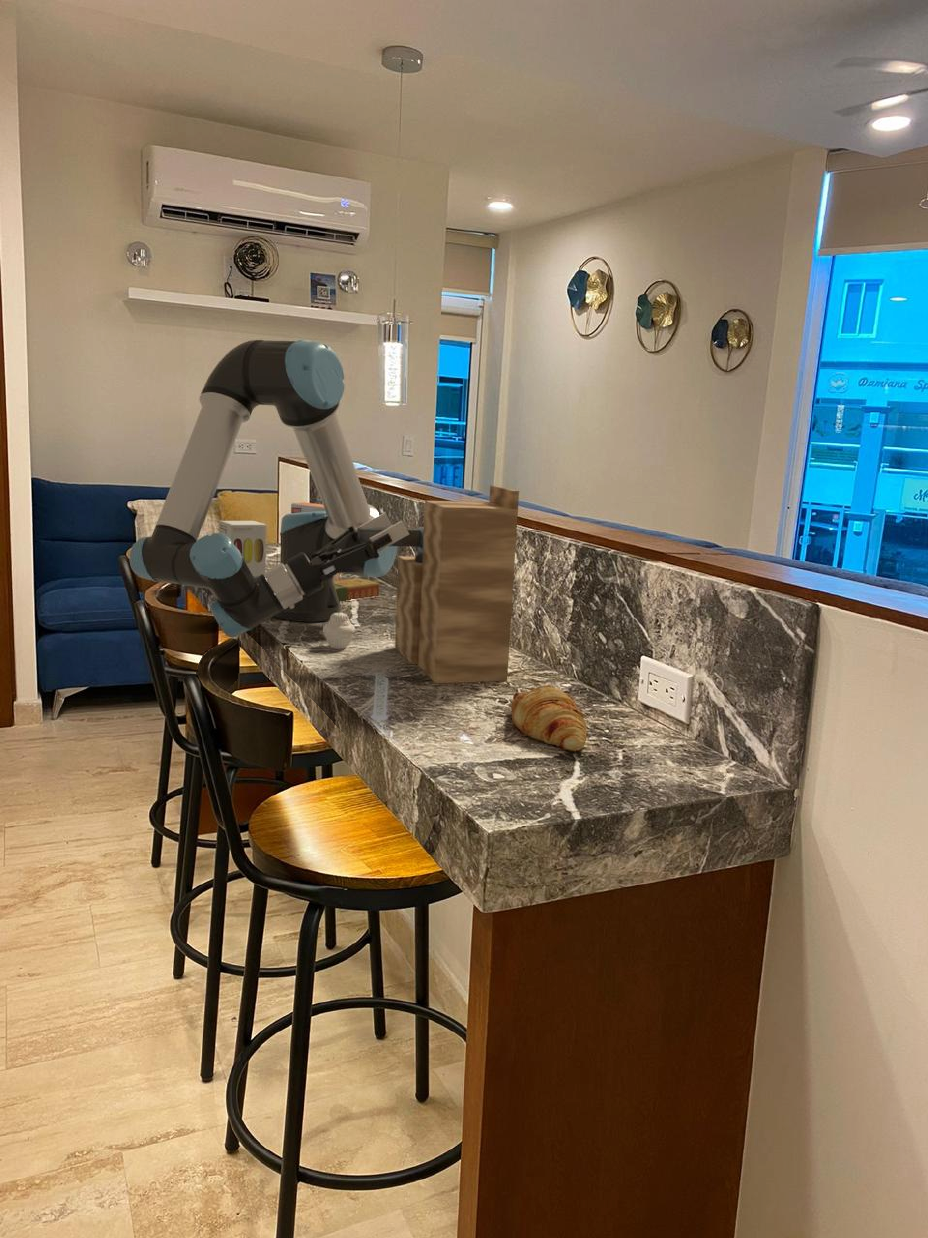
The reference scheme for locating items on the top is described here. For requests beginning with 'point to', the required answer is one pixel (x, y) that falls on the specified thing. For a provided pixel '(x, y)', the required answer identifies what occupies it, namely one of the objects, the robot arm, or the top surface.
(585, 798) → the top surface
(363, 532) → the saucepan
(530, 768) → the top surface
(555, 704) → the croissant
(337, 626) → the white ridged rounded piece
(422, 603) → the pine stand
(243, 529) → the supplement box
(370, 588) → the carton
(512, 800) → the top surface
